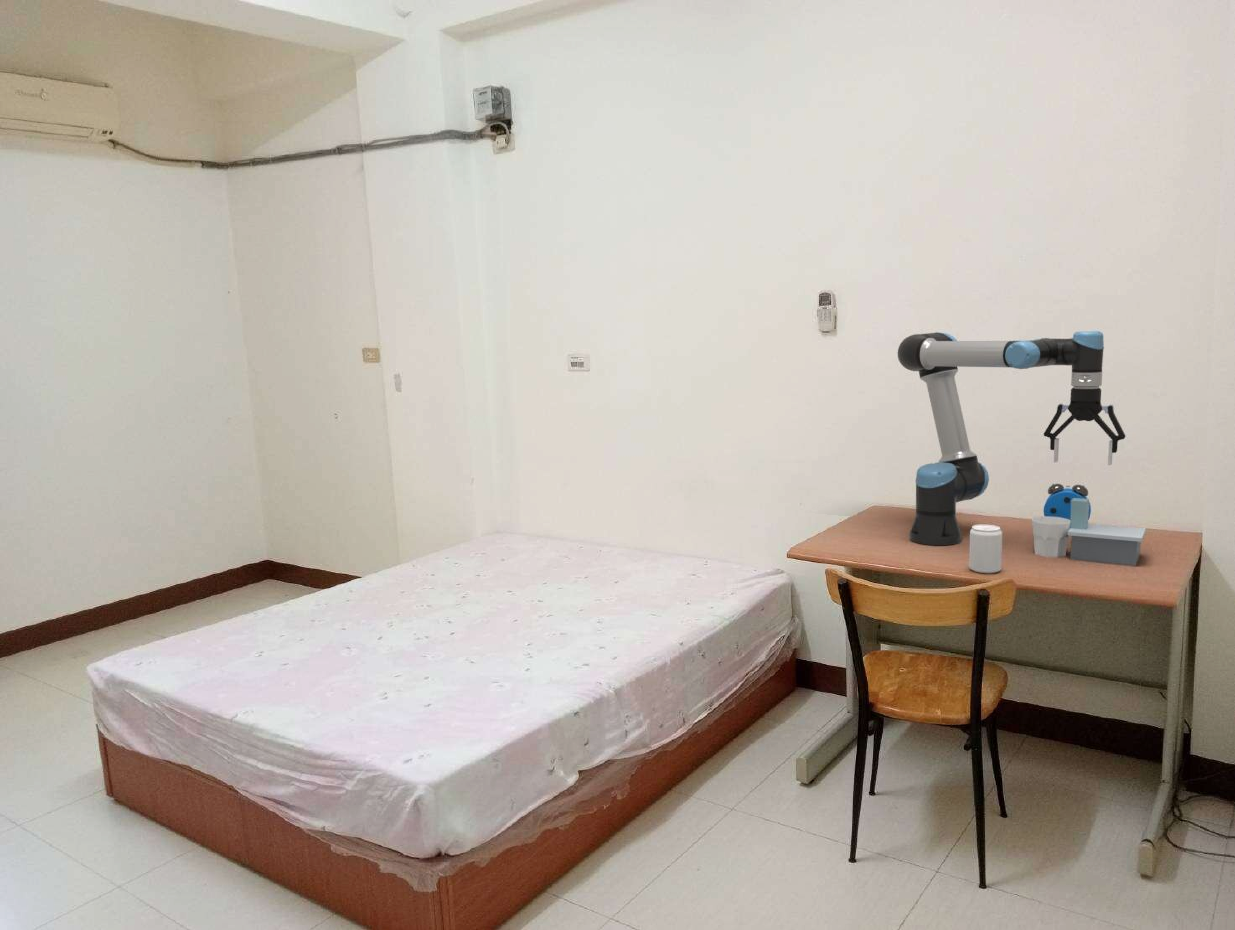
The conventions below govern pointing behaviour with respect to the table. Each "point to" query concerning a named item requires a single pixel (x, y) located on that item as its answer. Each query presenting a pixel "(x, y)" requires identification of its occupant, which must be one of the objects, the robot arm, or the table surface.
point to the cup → (1050, 536)
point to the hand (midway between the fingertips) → (1082, 463)
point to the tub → (1105, 550)
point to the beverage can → (985, 548)
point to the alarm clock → (1063, 500)
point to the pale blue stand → (1099, 525)
